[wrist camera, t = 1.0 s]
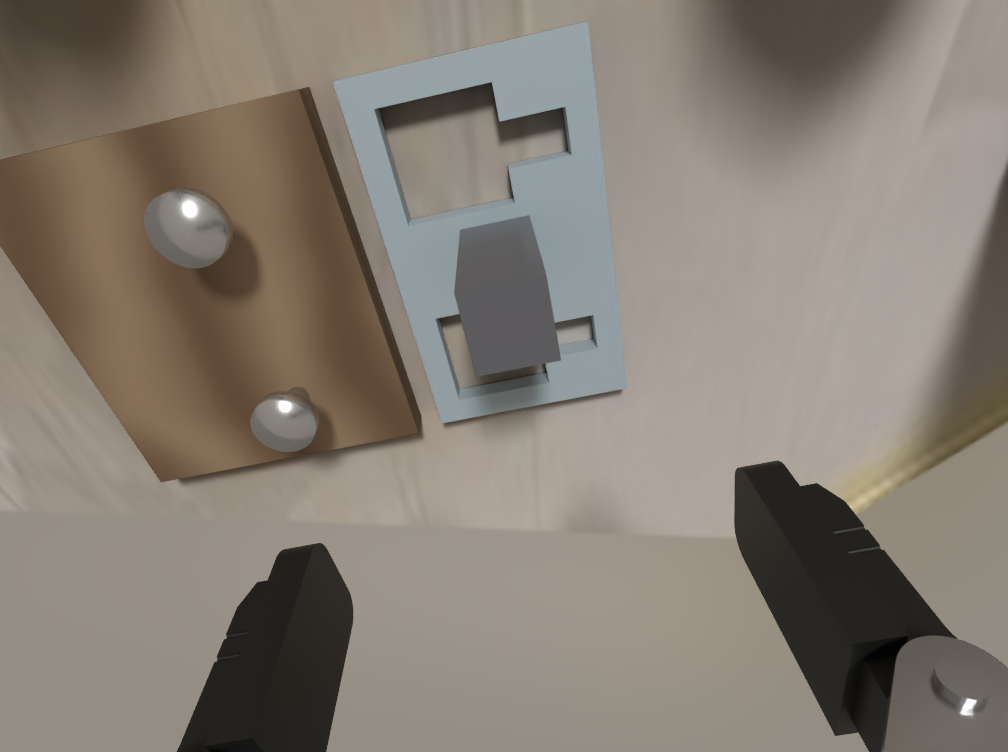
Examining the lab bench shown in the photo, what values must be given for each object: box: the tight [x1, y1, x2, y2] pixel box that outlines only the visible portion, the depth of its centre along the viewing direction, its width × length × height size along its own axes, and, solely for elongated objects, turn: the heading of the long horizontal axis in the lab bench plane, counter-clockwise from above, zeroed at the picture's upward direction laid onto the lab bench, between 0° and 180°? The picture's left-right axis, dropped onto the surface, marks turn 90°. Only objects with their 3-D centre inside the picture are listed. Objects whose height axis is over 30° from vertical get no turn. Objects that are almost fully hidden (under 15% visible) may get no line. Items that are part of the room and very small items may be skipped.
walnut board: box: [0, 87, 421, 482], centre depth 25 cm, size 14×16×4 cm
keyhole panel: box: [333, 22, 627, 423], centre depth 22 cm, size 10×16×8 cm, turn 12°
